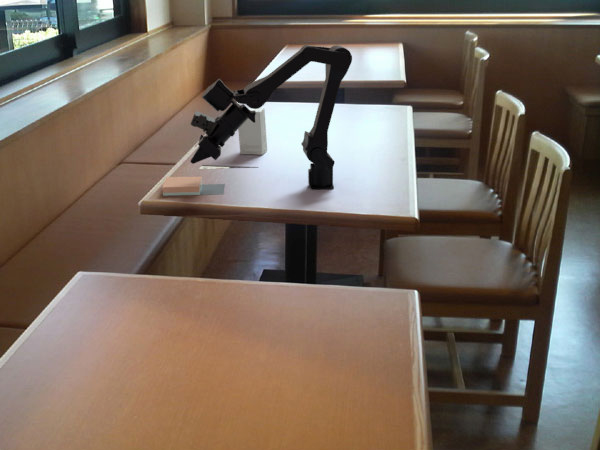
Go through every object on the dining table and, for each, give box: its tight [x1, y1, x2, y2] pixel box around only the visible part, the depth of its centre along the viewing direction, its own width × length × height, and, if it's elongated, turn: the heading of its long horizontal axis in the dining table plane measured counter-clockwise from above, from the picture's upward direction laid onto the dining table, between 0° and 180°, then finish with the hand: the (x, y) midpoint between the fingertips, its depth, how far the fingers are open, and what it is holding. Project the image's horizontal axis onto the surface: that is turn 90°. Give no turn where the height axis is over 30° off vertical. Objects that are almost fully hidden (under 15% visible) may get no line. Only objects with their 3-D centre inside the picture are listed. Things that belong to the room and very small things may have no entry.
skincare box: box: [237, 107, 268, 156], centre depth 223 cm, size 8×6×15 cm
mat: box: [173, 183, 226, 196], centre depth 188 cm, size 14×9×1 cm, turn 93°
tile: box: [161, 176, 203, 197], centre depth 187 cm, size 2×9×10 cm
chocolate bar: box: [198, 164, 259, 170], centre depth 206 cm, size 9×1×18 cm
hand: (191, 162), depth 185 cm, fingers closed
